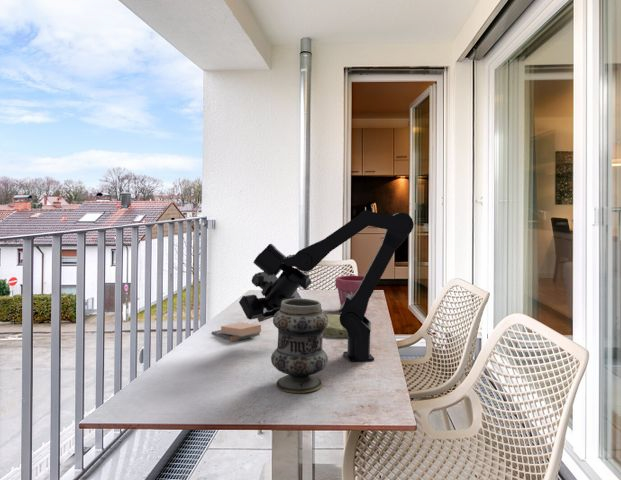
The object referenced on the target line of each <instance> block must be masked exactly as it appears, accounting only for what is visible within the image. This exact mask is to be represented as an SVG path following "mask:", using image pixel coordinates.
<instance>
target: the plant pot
mask: <svg viewBox="0 0 621 480" xmlns="http://www.w3.org/2000/svg"><path fill="white" fill-rule="evenodd" d="M364 276H365V275H355V274H354V275H340V276H336V277H335V282H334V283H335V288H336V289H337V293H338V299H339V302H340V306H341V305H342V304H343V303H344V302H345V300H346V296H347V294H348V293H349V294H350V295H351V296H352V295H353V294H354V293H355V292H356V291H357V289H358V288H359V286H360V284H361V282H362V280H363V278H364ZM368 305H369V304H368ZM368 305H367V307H368ZM367 309H368V308H367ZM367 309H366V312H367V311H368V310H367ZM366 312H365V314H366Z"/></svg>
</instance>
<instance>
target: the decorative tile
mask: <svg viewBox="0 0 621 480" xmlns="http://www.w3.org/2000/svg"><path fill="white" fill-rule="evenodd" d="M325 314H326V315H327V317H328V325H327V326H326V328H325V329H323V335H322V336H323V337H324V336H325V337H328V338H329V337H333V338H347V339H348V332H347V329H345V328H344V327H343V326H342V325H341V323H340V320H339V318H340V314H331V313H325Z"/></svg>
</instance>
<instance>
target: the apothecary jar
mask: <svg viewBox="0 0 621 480" xmlns="http://www.w3.org/2000/svg"><path fill="white" fill-rule="evenodd" d="M326 314H327V313H325V311H323V309H322V304H321V301H319V300H315V299H311V298H303V297H301V298H293V299H286V300H283V301H282V302H281V308H280V310H279V311H278V312H277V313H276V314H275V315H274V317H272V323H273V326H274V327H275V328H277V331H278V335H277V348H276V349H274V350H273V352H272V353H271V357H270V359H271V361H270V362H271V364H272V366H273V367H274V368H275V369H276V370H277V371H279V372H280V373H283V374H285V376H282V377H281V378H279V379H278V380H277V381H276V384H275V385H276V387H277V388H278V389H279V390H280V391H282V392H286V393H291V394H308V393H312V392H317V391H318V390H320V389H322V387H323V381H322V380H321V379H320V378H319V377H316V376H314V374H317V373H319V372H321V371H323V369H325V367H326V366H327V364H328V362H329V361H328V360H329V357H328V355H327V352H326V351H325V350H324V349H323V337H324V335H323V329H325V328H326V326H327V325H328V317H327V315H326Z"/></svg>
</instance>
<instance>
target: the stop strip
mask: <svg viewBox="0 0 621 480" xmlns="http://www.w3.org/2000/svg"><path fill="white" fill-rule="evenodd" d="M260 333H261V332H260ZM260 333H256V334H252V335H247V336H243V337H240V336H231V337H230V340H229V342H230V343H231V342H232V343H233V342H237V341H241V340H245V339H248V338H252V337H253V338H254V337H257V336H260V335H261V334H260Z"/></svg>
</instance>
